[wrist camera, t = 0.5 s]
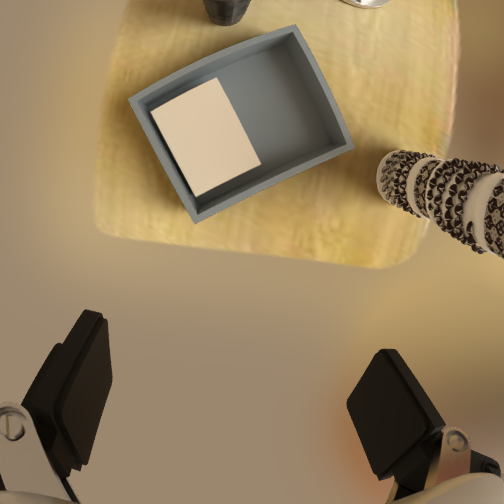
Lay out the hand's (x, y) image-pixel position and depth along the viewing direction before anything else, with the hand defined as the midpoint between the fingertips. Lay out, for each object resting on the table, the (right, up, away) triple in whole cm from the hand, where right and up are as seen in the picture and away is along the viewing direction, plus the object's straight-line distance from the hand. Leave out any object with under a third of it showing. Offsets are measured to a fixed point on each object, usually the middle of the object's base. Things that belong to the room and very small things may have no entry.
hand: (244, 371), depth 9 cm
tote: (-1, +20, +24) cm, 32 cm away
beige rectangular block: (-5, +18, +24) cm, 30 cm away
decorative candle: (+22, +15, +29) cm, 39 cm away
